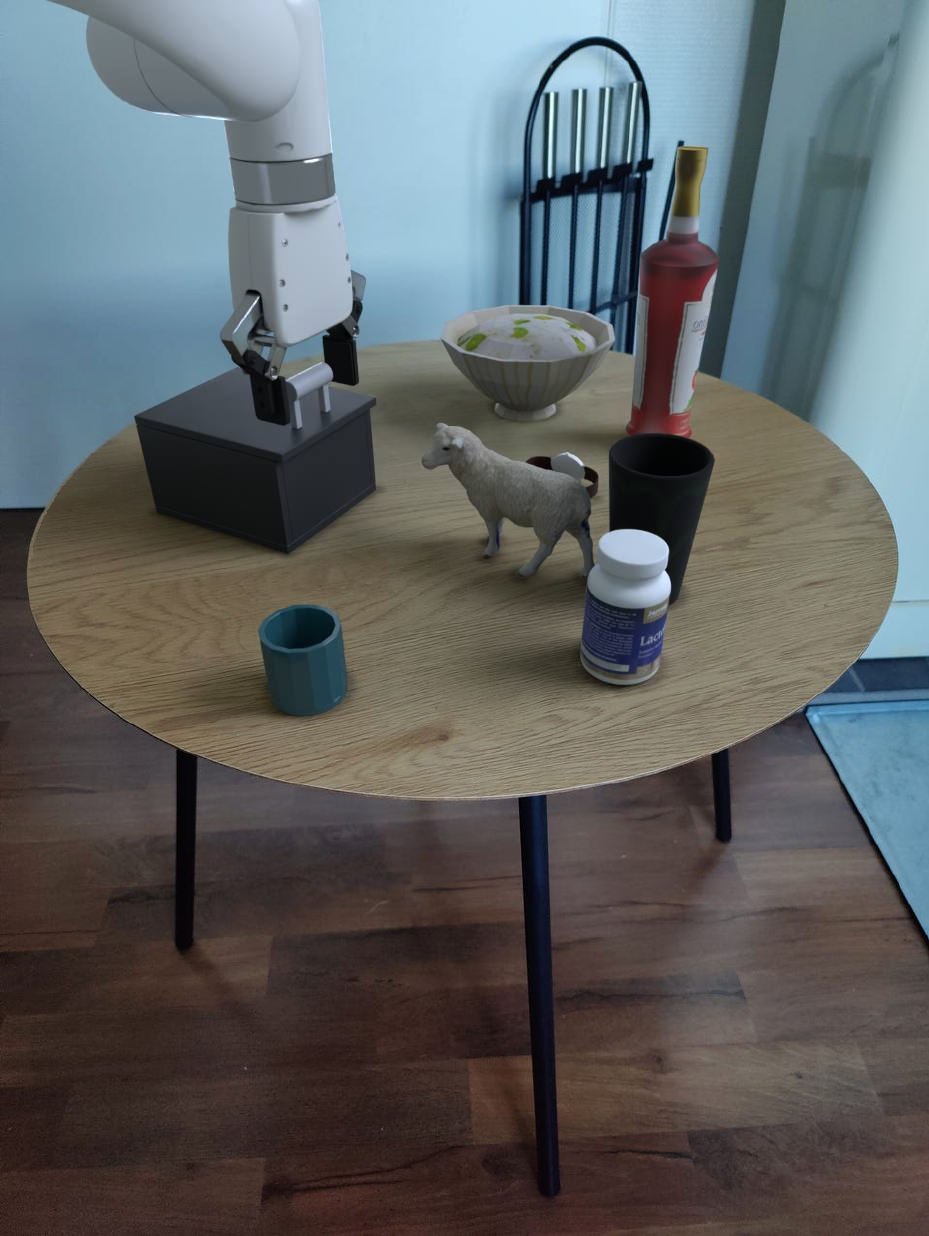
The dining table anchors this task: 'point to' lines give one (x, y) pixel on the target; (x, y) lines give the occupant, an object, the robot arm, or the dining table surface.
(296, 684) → the creamer cup
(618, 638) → the pill bottle
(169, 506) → the dark gray hinged chest
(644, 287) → the liquor
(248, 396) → the chest lid
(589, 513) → the figurine
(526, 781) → the dining table surface
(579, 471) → the watch
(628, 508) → the cup
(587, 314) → the bowl
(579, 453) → the dining table surface
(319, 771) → the dining table surface
